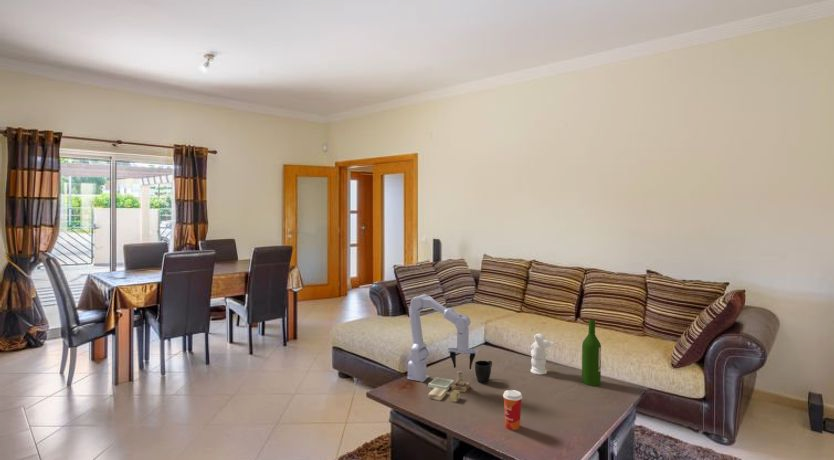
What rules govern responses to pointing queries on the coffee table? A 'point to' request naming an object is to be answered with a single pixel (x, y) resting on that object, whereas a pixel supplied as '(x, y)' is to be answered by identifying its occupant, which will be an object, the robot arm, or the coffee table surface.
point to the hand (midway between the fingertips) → (462, 367)
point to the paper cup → (512, 409)
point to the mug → (483, 371)
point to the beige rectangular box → (437, 394)
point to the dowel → (460, 378)
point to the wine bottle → (591, 357)
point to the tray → (441, 383)
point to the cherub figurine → (539, 354)
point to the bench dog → (455, 395)
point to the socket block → (462, 389)
